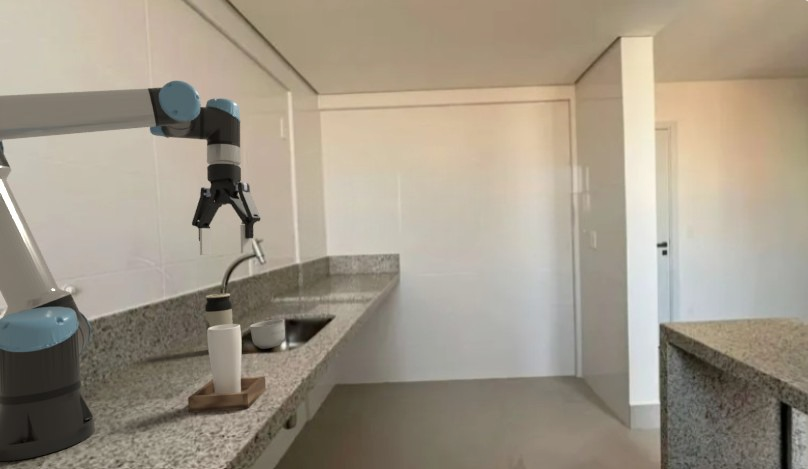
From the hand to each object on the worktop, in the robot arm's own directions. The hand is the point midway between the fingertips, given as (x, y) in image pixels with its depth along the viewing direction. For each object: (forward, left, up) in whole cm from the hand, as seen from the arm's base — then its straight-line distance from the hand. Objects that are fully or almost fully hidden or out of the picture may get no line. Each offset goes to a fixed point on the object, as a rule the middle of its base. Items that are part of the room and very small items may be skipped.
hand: (225, 254), depth 112 cm
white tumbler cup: (+8, -8, -31) cm, 32 cm away
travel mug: (-37, +26, -32) cm, 56 cm away
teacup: (-25, +36, -32) cm, 54 cm away
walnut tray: (+8, -8, -31) cm, 33 cm away
